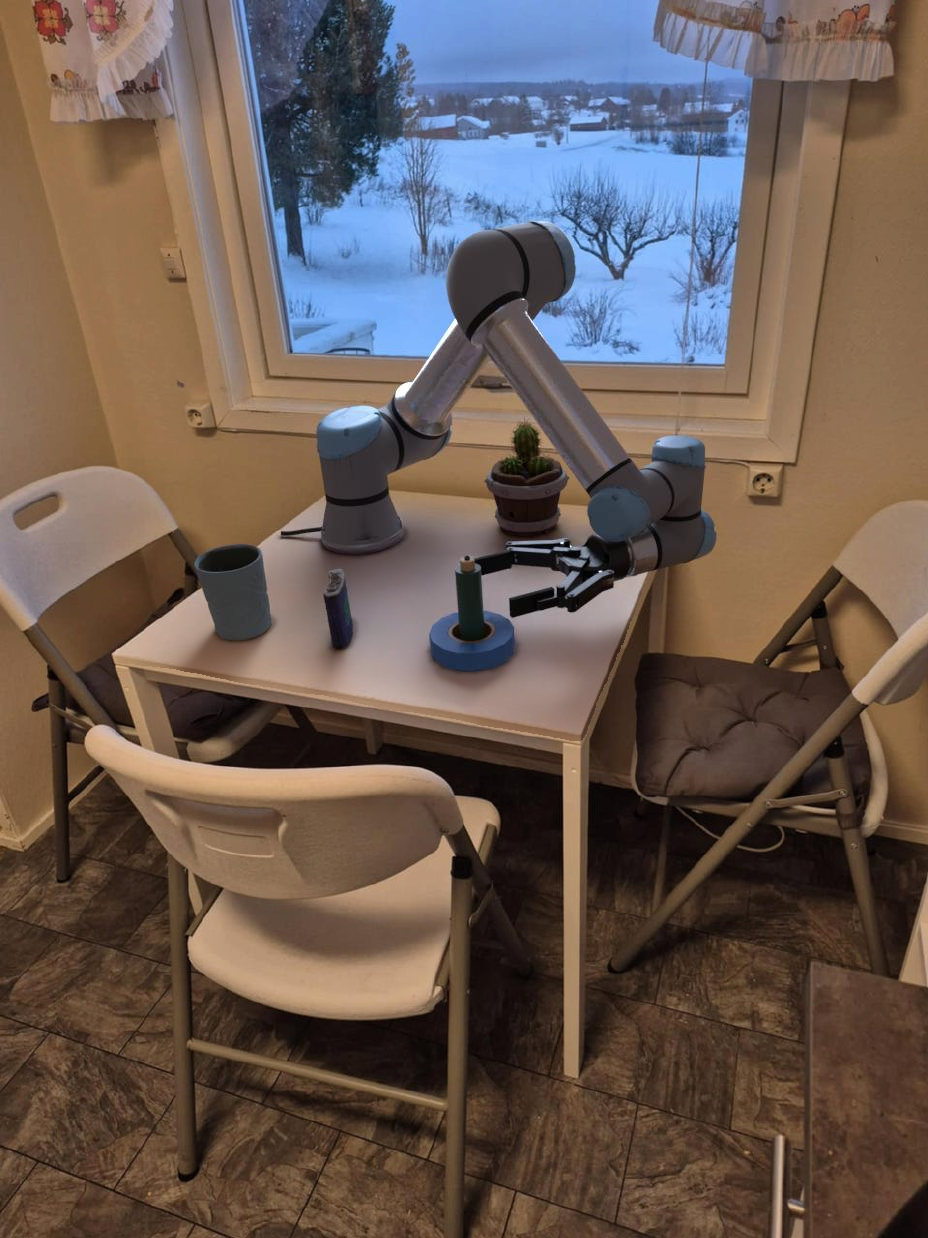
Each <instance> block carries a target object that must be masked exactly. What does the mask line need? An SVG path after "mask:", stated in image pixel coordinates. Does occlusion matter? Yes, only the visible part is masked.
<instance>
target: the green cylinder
mask: <svg viewBox="0 0 928 1238" xmlns="http://www.w3.org/2000/svg"><path fill="white" fill-rule="evenodd" d="M474 558H475V557H474V556H471V555H465V556H462V557H460V558H459V564H458V565H456V566H455V567H454V577H455V578H454V579H455V589H456V591H455V592H456V605H457V612H458V618H459V631H460V640H463V641H477V640H481V639H484V638H485V628H484V611H485V610H484V597H483V595H484V593H483V581H482V580H483V579H482V576H481V567H480V565H478V564H476V563H475V559H474Z"/></svg>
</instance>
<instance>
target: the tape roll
mask: <svg viewBox="0 0 928 1238" xmlns="http://www.w3.org/2000/svg"><path fill="white" fill-rule="evenodd" d="M483 611H484V628H485V638H484V639H481V640H477V641H463V640H460V631H459V618H458V611H456V612H452V613H451V614H448V615H445V616H443V617H441V618H440V619H439V620H436V622H435V623H434V624H432V626H431V628H430V631H429V647H430V653H431V655H432V658H433V660H434V662H436V663H438V664H439V665H441V666H442V667H444V668H447V669H450V670H454V671H457V672H479V671H485V670H491V669H494V668H495V667H496V668H497V667H498V666H500V665H502V664H504V663H506V662H507V661H508V660H509V659H510V658H511V657H512V656H513V654H514V651H515V648H516V646H515V645H516V639H515V626H514V625H513V623H512V622H511V620H510V619H509V618H507V617H506V616H504V615H503V614H501V613H497V612H493V611H489V610H483Z"/></svg>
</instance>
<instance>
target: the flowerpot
mask: <svg viewBox="0 0 928 1238" xmlns="http://www.w3.org/2000/svg"><path fill="white" fill-rule="evenodd" d="M525 418H526V417H523V420H524V421H523V422H522V421H521V420H517V424H516V427H514V428H513V429H512V430H511V434H513V436H511V437H508V439H509V441H508V442H509V443H510V444H511V445H510V446H512V447H513V448H512V451H513V454H514V455H512V454H510V452H509V453H508V452H507V454H508V455H509V457H508V456H507V454H506V455H504V457H505V458H503V457H501V459H500V460H498V461H497V462H495V463H494V464H493V466H492V468H491V469H490V470H489V471H488V472H487V474H486V478H485V479H484V483H485V484H486V488H487V489H488V491H489V492H490V493H491V494H492V496H493V498H494V502H495V506H496V509H495V511H494V519H496V522H497V524H498V525H499V526H500V527H501V529H502V530H503V531H505V532H506V533H507V534H510V535H513V536H518V537H527V536H529V537H534V536H537V535H539V534H540V533H541V532H542V533H548V532H550V531H551V530H552V529H554V527H555V525H556V524H557V523H558V522H559V518H560V517H561V516H562V513H561V508H560V507H559V506H558V505H559V501H560V497H561V492H562V491H563V490H564V489H565V488H566V487H567V485H568V481H569V480H570V477H569V476H568V473H567V470H566V469H565V468H563V467H562V463H561V462H560V461H559V460H555V458H553V457H551V455H546V454H545V453H544V452H542V451H543V450H544V448H542V447H541V444H544V442H542V437H540V436H541V431H539V429H538V428H539V427H536V425H533V424H534V422H533V423H532V422H529V421H528V420H530V419H531V417H529V418H528V419H525ZM511 434H510V435H511ZM542 455H543V456H542Z"/></svg>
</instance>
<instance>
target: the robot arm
mask: <svg viewBox="0 0 928 1238" xmlns="http://www.w3.org/2000/svg"><path fill="white" fill-rule="evenodd" d="M576 274H577V265H576V254H575V250H574V246H573V244H572V242H571V240H570V238H569V236H568V235H567V234H566V233H565V231H564V230H563V229H562V228H560V227H559V225H556V224H555V223H553V222H549V221H545V220H540V221H536V220H527V221H525V222H521V223H517V224H512V225H507V226H502V227H499V228H493V229H485V230H479V231H477V232H474V233H472V234H470V235H468V236H467V237H466V238H465V239H463V240H462V241H461V242H459V244H458V245H457V247H456V248H455V249H454V251H453V253H452V254H451V256H450V259H449V262H448V265H447V267H446V275H445V288H446V294H447V295H446V296H447V300H448V304H449V306H450V310H451V313H452V314H453V318H454V320H453V321H452V323H451V324H450V326H449V327H448V329H447V330H446V332H445V333H444V335H443V336H442V338H441V339H440V341H439V342H438V343H437V345H436V347H435V348H434V350H433V351H432V353H431V354H430V356H429V357H428V359H427V360H426V361H425V363H424V365H423V366H422V368H421V369H420V371H419V372H418V374H417V375H416V377H415V378H414V380H413V381H408V382H405V383H403V384H401V385H399V387H397V389H396V391H395V393H394V394H393V395H392V397H391V398H390V400H389V401H388V403H387V404H386V405H384V406H383V407H380V408H375V407H373V406H370V405H354V406H350V407H349V408H348V407H343V408H341V409H338V410H335V411H333V412H331V413H329V414H327V415H326V416H324V417H323V418H322V419H320V421H319V423H318V424H317V426H316V451H317V453H318V457H319V463H320V471H321V476H322V484H323V491H324V496H325V507H324V514H323V519H322V525H321V526H317V527H310V528H302V529H296V530H295V529H294V530H288V531H286V530H281V531H280V536H284V537H285V536H286V537H289V536H296V535H297V536H298V535H302V534H310V533H319V532H320V535H321V542H322V545H323V547H325V549H327V550H329V551H331V552H334V553H337V554H342V555H343V554H344V555H363V554H369V553H370V554H371V553H375V552H376V553H377V552H380V551H383V550H386V549H388V548H390V547H393V546H394V545H396V544H397V543H399V542H400V541H401V540H402V539H403V537H404V522H403V518H402V516H401V518H400V516H399V515H398V512H397V510H396V507H395V504H394V503H393V499H392V498H391V495H390V489H389V478H388V476H389V475H390V474H393V473H396V472H397V471H400V470H402V469H405V468H407V467H409V466H412V465H414V464H417V463H419V462H422V461H426V460H429V459H431V458H434V457H435V456H436V455H438V454H439V453H440V452H442V451H443V450H444V449H445V448H446V447H447V446H448V444H449V442H450V440H451V437H452V433H453V430H452V429H451V427H452V425H453V413H452V411H453V410H454V409H455V408H456V407H457V405H458V404H459V402H460V401H461V400H462V399H463V397H465V394H466V393H467V392H468V391H469V389H470V388H471V386H472V385H473V384H474V383H475V382H476V380H477V379H478V377H479V376H480V375H481V373H482V372H483V370H484V369H485V368H486V366H487V365H488V364H489V363H490V362H491V361H492V363H493V364H494V365H495V367H496V368H497V369H498V371H499V372H500V374H501V375H502V376H503V378H504V379H505V380H506V382H507V384H508V385H509V386H510V387H511V389H512V390H513V392H514V393H515V394H516V396H517V397H518V399H519V400H520V401H521V403H522V404H523V405H524V407H525V408H526V410H527V411H528V412H529V414H530V415H531V417H532V418H533V420H534V421H535V422H536V424H537V425H538V426H539V429H541V431H542V433H544V435H545V436H546V438H547V439H548V440H549V442H550V443H551V445H552V446H553V447H554V448H555V450H556V451H557V453H558V454H559V455H560V457H561V459H562V460H563V461H564V462H565V464H566V465H567V467H568V468H569V470H570V471H571V472H572V474H573V475H574V477H575V478H576V479H577V481H578V482H579V484H580V485H581V486H582V488H583V489H584V491H585V492H586V493H587V495H588V496H589V498H590V500H589V501H588V504H587V510H586V513H587V514H586V515H587V516H588V517H587V518H588V521H589V522H588V523H589V525H590V528H591V529H592V530H593V531H594V534H591V535H590V536H588V538H587V539H586V541H585V543H584V544H583V545H578V546H572V545H571V538H569V537H563V538H558V539H557V538H556V539H552V540H551V539H547V540H545V539H544V540H542V539H541V540H517V541H516V540H515V541H514V540H513V541H506V542H505V550H503V551H499V552H495V553H490V554H487V555H482V556H479V557H474V559H475V563H476V564H478V565H480V567H481V577H482V576H485V575H491V574H494V573H499V572H502V571H505V570H511V569H512V567H513V566H522V567H536V568H549V569H551V571H552V572H559V573H562V574H564V575H565V579H564V580H563V581H562V582H561V584H559V585H558V584H556V587H555V588H554V587H553V586H549V587H545V588H542V589H538V590H534V591H530V592H527V593H524V594H520V595H516V596H512V597H509V598H508V605H509V606H508V608H509V617H510V618H511V619H513V618H517V617H521V616H525V615H528V614H532V613H536V612H540V611H542V612H543V611H545V610H549V609H552V608H559V609H564V608H565V609H566V611H567V612H568V613H571V614H574V613H575V612H577V611H579V610H580V609H581V608H583V607H584V606H585V605H587V604H588V603H589V602H590V601H592V600H594V599H595V598H596V597H599V595H600V594H602V593H603V592H606V591H608V590H609V591H610V590H612V589H614V587H615V582H618V581H622V580H624V579H625V578H630V577H637V576H638V575H642V574H645V573H649V572H653V571H657V570H662V569H666V568H670V567H673V566H678V565H681V564H688V563H690V562H692V561H695V560H698V559H700V558H703V557H705V556H708V555H709V554H710V553H711V552H712V551H713V550H714V548H715V545H716V543H717V537H718V536H717V534H718V533H717V531H716V530H715V526H716V524H715V522H714V520H713V518H712V516H711V515H710V514H709V513H708V512H707V511H705V510H703V509H702V503H703V493H704V483H705V482H704V481H705V470H706V468H707V465H706V446H705V444H704V442H702V440H700V439H698V438H696V437H694V436H689V435H681V434H679V435H678V434H677V435H675V434H674V435H667V436H663V437H660V438H658V439H656V440H655V441H654V443H653V445H652V451H651V455H650V459H651V460H650V461H651V462H650V463H648V464H647V465H645V466H643V467H641V468H640V469H639V467H638V466H637V465H636V463H635V462H634V461H633V459H632V458H631V457H630V456H629V454H628V452H627V450H625V449H624V447H623V446H622V444H621V443H620V442H619V440H618V439H617V437H616V436H615V434H614V433H613V432H612V430H611V429H610V428H609V426H608V424H607V423H606V422H605V420H604V419H603V418H602V417H601V415H600V414H599V412H598V411H597V409H596V407H594V405H593V404H592V402H591V401H590V400H589V398H588V396H587V395H586V394H585V392H584V391H583V390H582V388H581V387H580V386H579V384H578V382H576V380H575V379H574V377H573V376H572V375H571V373H570V372H569V370H568V368H567V367H566V366H565V365H564V363H563V361H561V359H560V357H559V356H558V355H557V354H556V352H555V351H554V349H553V348H552V347H551V345H550V344H549V342H548V341H547V340H546V338H545V337H544V336H543V334H542V333H541V331H540V330H539V328H538V327H537V326H536V324H535V323H534V320H535V318H537V316H538V315H539V313H540V312H541V311H542V310H543V308H544V307H545V306H546V305H548V303H555V302H557V301H559V300H560V299H561V298H563V297H565V296H566V294H568V293H569V291H570V290H571V288H572V287H573V285H574V282H575V278H576ZM555 590H556V591H555Z"/></svg>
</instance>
